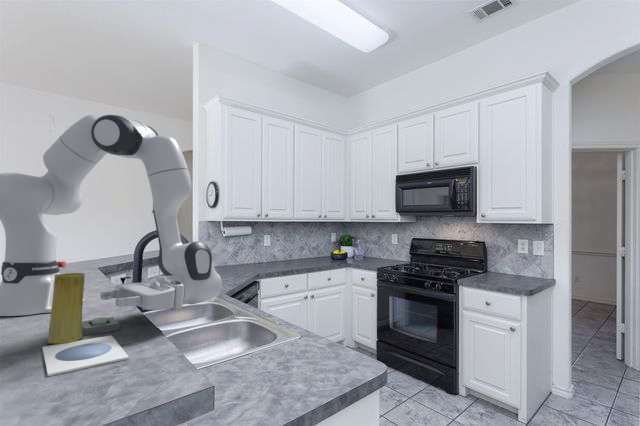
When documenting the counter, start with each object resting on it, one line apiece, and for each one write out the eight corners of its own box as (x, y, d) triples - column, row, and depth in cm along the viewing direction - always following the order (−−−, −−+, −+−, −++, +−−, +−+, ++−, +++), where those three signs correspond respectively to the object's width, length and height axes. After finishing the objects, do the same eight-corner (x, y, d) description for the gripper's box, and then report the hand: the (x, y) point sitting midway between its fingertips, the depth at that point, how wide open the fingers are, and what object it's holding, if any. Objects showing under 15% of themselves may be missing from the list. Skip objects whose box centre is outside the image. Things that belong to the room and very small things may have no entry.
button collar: (79, 328, 79) (79, 321, 79) (112, 323, 84) (113, 317, 84) (83, 335, 74) (84, 328, 74) (118, 329, 79) (119, 323, 79)
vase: (86, 335, 74) (90, 272, 75) (77, 342, 68) (82, 274, 70) (53, 338, 72) (58, 273, 73) (41, 345, 66) (47, 275, 68)
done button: (90, 324, 79) (90, 318, 79) (105, 322, 81) (106, 316, 81) (92, 327, 77) (93, 321, 77) (108, 325, 79) (108, 319, 79)
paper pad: (42, 348, 65) (42, 346, 65) (111, 337, 74) (111, 334, 74) (47, 376, 54) (47, 373, 54) (128, 359, 62) (129, 356, 62)
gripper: (148, 276, 94) (94, 280, 83) (186, 285, 82) (127, 292, 71) (147, 297, 94) (92, 305, 83) (184, 310, 81) (125, 321, 71)
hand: (108, 299), depth 77 cm, fingers open, 8 cm apart
